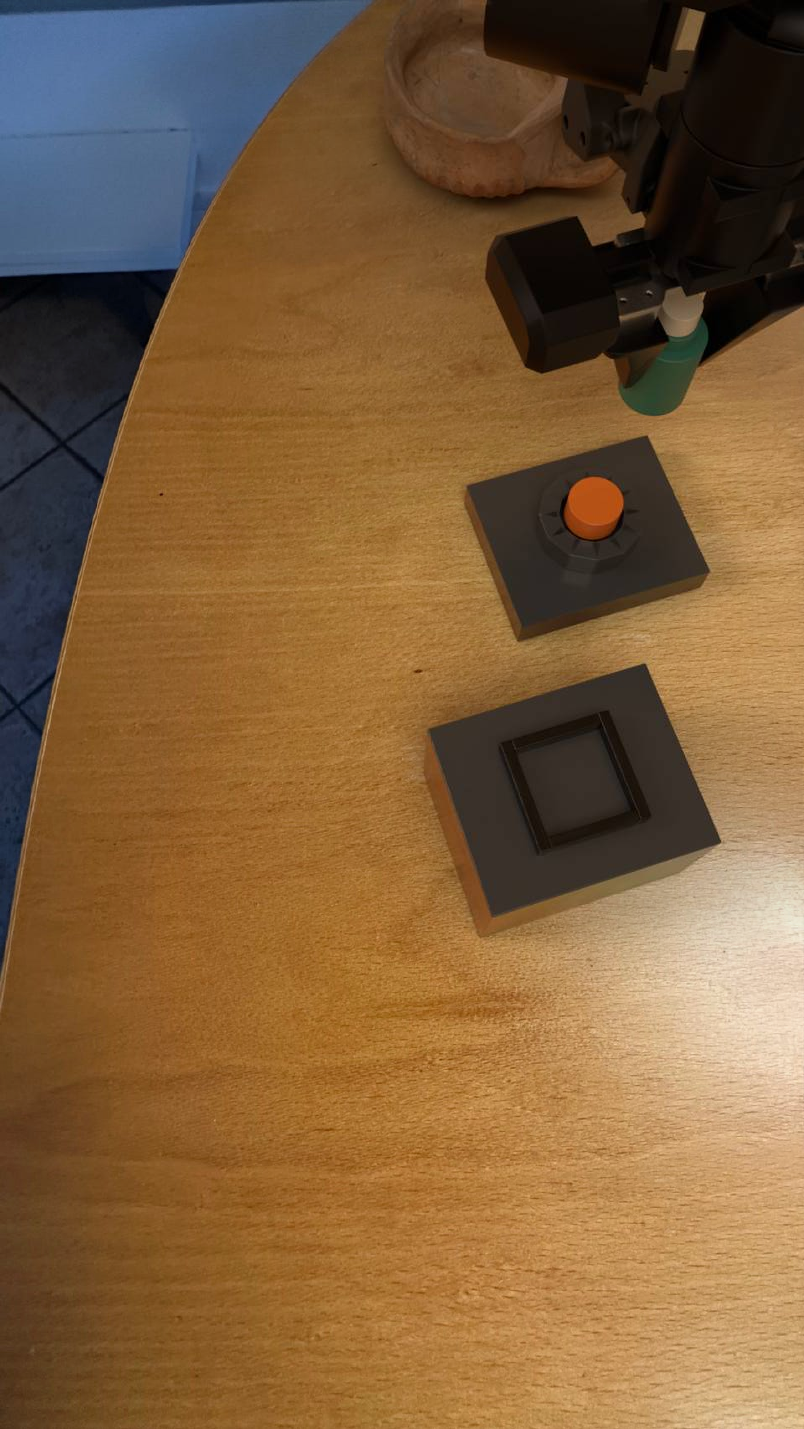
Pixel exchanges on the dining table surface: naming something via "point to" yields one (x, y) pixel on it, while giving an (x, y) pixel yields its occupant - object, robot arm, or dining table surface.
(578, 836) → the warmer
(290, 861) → the dining table surface
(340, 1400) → the dining table surface
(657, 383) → the bottle
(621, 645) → the dining table surface
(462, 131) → the bowl
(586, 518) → the button
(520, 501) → the control
